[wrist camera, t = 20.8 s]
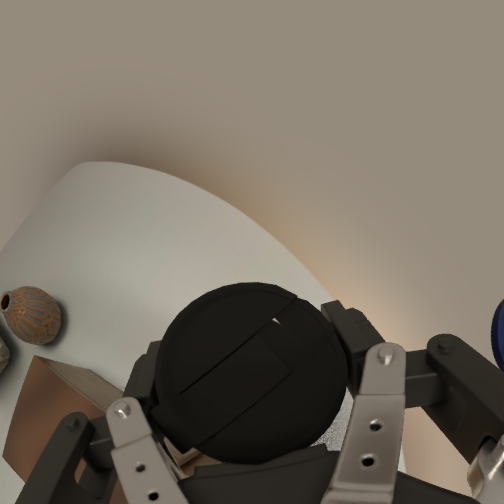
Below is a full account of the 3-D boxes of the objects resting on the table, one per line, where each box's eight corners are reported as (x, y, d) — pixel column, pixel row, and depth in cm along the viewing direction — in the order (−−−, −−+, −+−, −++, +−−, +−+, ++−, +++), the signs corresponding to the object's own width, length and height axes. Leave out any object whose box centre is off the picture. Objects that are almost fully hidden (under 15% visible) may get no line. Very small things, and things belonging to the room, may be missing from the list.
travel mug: (222, 385, 27) (107, 357, 9) (275, 341, 28) (258, 234, 10) (266, 434, 24) (227, 511, 6) (320, 387, 26) (396, 369, 8)
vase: (49, 290, 34) (7, 263, 27) (77, 315, 32) (31, 290, 25) (27, 331, 32) (-18, 310, 24) (53, 359, 30) (4, 344, 22)
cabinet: (212, 440, 25) (180, 459, 17) (168, 528, 20) (128, 564, 12) (91, 369, 29) (34, 354, 21) (58, 453, 24) (1, 456, 16)
